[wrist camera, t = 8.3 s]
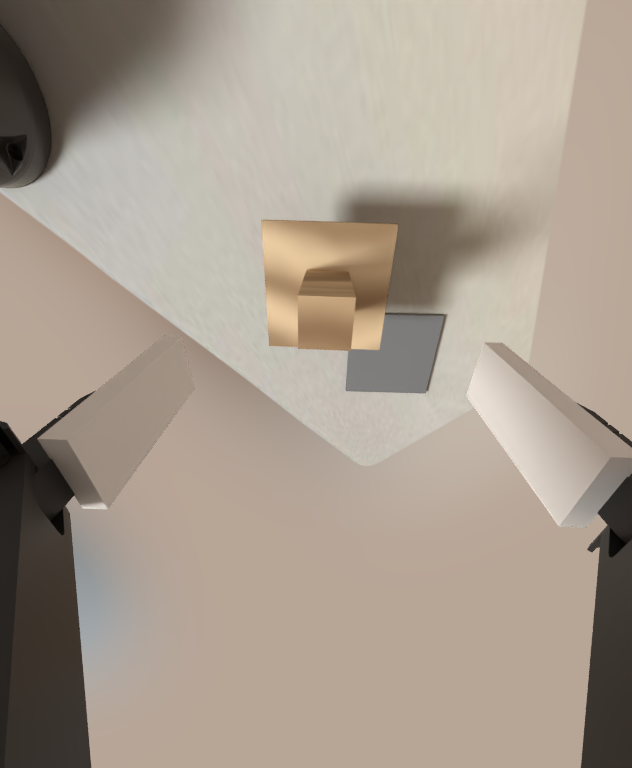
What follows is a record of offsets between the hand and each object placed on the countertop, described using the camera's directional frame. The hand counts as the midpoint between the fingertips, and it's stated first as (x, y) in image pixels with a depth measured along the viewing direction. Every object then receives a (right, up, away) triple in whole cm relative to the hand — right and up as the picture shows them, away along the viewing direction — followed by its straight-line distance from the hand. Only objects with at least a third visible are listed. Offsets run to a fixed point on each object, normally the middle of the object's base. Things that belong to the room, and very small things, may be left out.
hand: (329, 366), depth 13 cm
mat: (+10, +3, +28) cm, 30 cm away
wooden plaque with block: (0, +9, +17) cm, 19 cm away
